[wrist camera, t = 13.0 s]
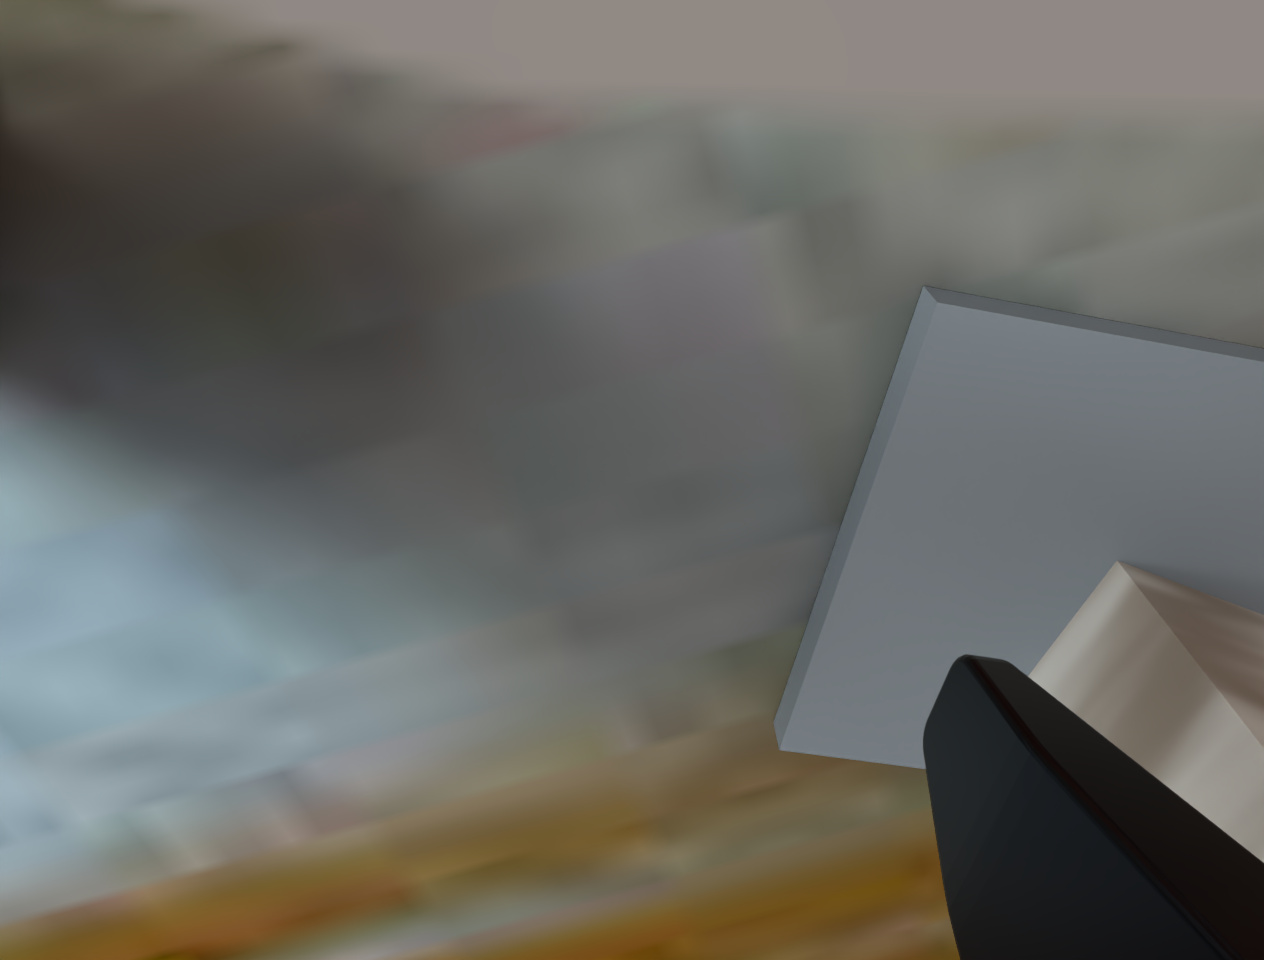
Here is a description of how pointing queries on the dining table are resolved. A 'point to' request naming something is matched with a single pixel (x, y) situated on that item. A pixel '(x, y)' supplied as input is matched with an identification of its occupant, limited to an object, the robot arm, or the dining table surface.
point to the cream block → (1171, 690)
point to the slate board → (1021, 506)
